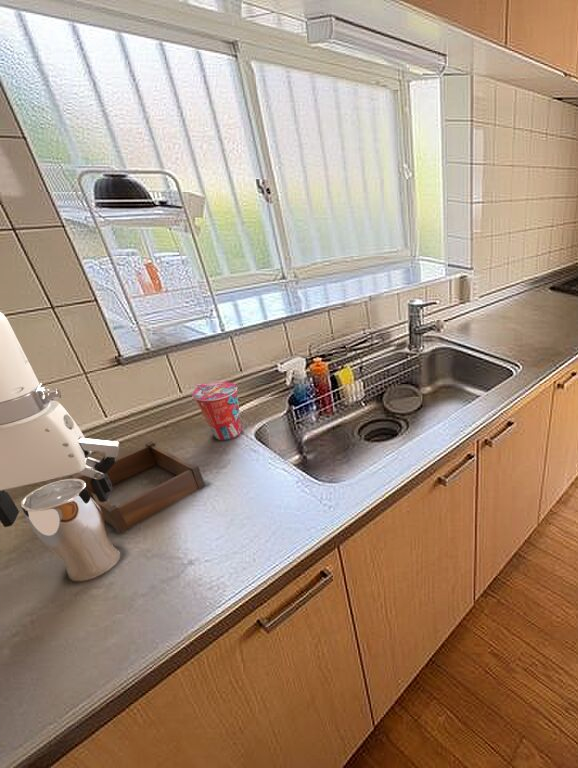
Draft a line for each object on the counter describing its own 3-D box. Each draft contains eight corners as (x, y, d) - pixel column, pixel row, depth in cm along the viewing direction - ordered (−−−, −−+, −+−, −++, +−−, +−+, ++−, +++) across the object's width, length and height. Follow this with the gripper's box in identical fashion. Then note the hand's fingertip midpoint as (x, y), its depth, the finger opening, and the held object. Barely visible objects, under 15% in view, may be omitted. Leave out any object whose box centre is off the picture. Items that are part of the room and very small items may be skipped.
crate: (75, 502, 78) (62, 479, 75) (160, 461, 89) (151, 440, 86) (121, 535, 72) (109, 511, 69) (206, 487, 83) (198, 465, 80)
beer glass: (122, 541, 70) (85, 471, 64) (127, 568, 66) (89, 495, 59) (64, 565, 66) (18, 491, 59) (66, 594, 62) (16, 519, 55)
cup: (256, 426, 103) (245, 382, 97) (236, 446, 95) (222, 400, 89) (218, 424, 102) (204, 380, 97) (194, 444, 95) (178, 398, 89)
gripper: (100, 379, 60) (140, 474, 68) (-90, 407, 51) (-19, 512, 59) (90, 403, 54) (135, 503, 62) (-125, 438, 45) (-41, 549, 53)
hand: (60, 507), depth 60 cm, fingers open, 9 cm apart
